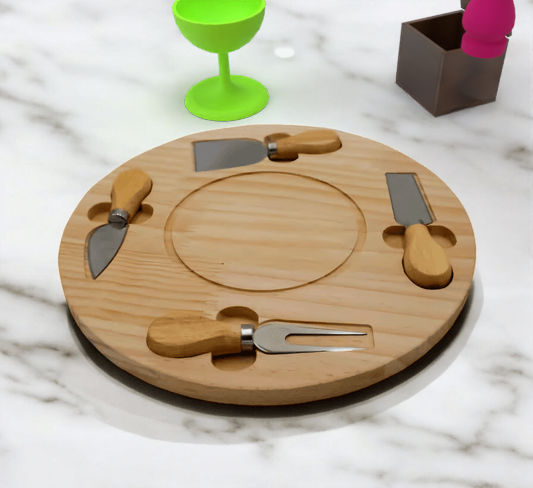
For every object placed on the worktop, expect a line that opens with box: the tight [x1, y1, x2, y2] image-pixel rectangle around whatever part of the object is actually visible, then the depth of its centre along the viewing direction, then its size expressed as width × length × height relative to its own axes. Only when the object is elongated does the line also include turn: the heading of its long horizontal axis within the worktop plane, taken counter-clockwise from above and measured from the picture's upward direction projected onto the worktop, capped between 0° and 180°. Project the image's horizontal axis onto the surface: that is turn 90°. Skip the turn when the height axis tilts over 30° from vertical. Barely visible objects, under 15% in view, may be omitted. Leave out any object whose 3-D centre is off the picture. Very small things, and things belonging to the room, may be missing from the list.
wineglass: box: [171, 0, 270, 122], centre depth 117 cm, size 16×16×18 cm
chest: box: [395, 9, 510, 118], centre depth 118 cm, size 13×14×12 cm
